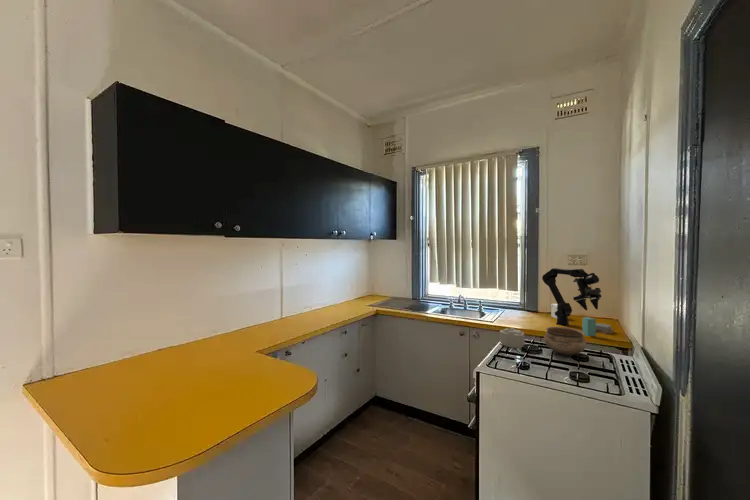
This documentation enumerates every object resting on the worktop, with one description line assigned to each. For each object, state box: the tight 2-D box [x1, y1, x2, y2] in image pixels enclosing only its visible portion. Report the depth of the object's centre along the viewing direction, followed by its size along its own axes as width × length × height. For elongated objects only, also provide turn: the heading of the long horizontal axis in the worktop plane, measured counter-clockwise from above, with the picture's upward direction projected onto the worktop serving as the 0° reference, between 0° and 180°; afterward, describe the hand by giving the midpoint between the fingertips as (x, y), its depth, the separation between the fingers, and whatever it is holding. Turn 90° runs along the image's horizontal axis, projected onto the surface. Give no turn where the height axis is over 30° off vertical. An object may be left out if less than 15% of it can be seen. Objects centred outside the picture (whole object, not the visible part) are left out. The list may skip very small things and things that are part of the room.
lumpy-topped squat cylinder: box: [499, 327, 525, 349], centre depth 181 cm, size 10×13×9 cm
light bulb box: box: [550, 303, 558, 320], centre depth 244 cm, size 11×7×11 cm, turn 179°
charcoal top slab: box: [596, 322, 612, 331], centre depth 206 cm, size 8×8×2 cm
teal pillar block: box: [581, 316, 597, 337], centre depth 198 cm, size 5×5×11 cm
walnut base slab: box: [596, 328, 615, 335], centre depth 206 cm, size 10×10×2 cm
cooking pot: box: [543, 326, 587, 357], centre depth 165 cm, size 25×19×12 cm
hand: (591, 309), depth 204 cm, fingers open, 9 cm apart
